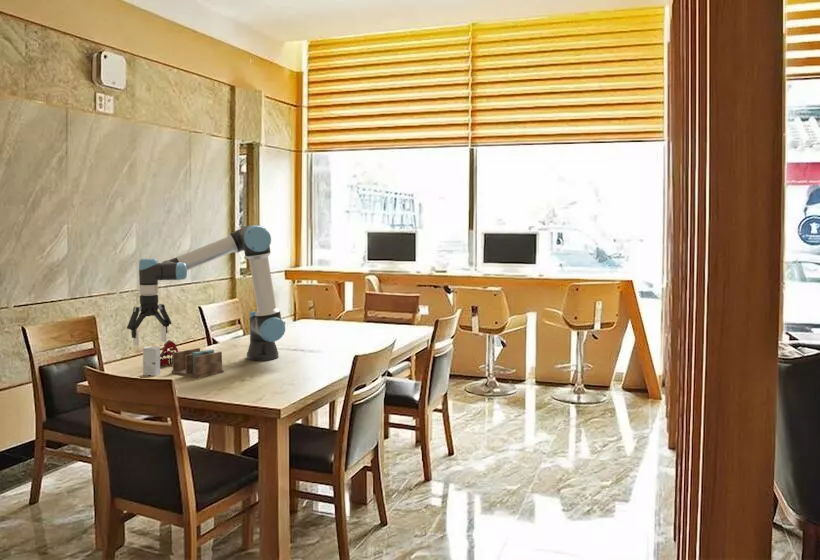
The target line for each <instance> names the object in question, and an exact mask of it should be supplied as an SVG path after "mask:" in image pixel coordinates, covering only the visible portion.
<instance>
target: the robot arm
mask: <svg viewBox="0 0 820 560" xmlns="http://www.w3.org/2000/svg"><path fill="white" fill-rule="evenodd" d="M270 233H271V232H270V231H269V230H268V228H265V227H264V226H261V225H259V224H257V225H256V224H254V225H252V224H248V225H245V226H243V227H241V228H238V229H237V230H235V231H233V232H230V233H227V236H226V237H224V238H221V239H219V240H216V241H214V242H211V243H208V244H205V245H204V246H200V247H197V248H196V249H193V250H191V251H188V252H186V253H183V254H180V255H178V256H176V257H174V258H171V259H169V260H164V261H162V262H158V259H157V258H141V259H140V260H139V262H138V279H139V280H138V281H139V294H140V295H139V304H140V305H139V306H133V309H132V314H131V317H130V318H129V321H128V324H127V326H126V328H127V330H130V331H131V338H132V339H133V340H132V341H133V346H137V347H139V345H140V344H139V341H140V340H139V330H138V328H139V326H140V325H141V324H142V322H143V321H144V319H146V318H147V317H151V316H152V317H155V318H156V319H157V320H158V322H159V323H160V325H161V326H160V341H161V342H167V334H168V327H169V326H170V325H172V321H171V318H170V316H169V314H168V312H167V310H166V307H165V304H164V303H163V304H162V303H160V304H159V295H158V294H159V281H180V280H181V281H182V280H186V279H187V275H188V271H189V270H192V269H194V268H197V267H199V266H201V265H205V264H207V263H209V262H211V261H215V260H217V259H220V258H222V257H224V256H227V255H229V254H232V253H235V254H238V253H240V252H244V257H245V258H246V259H248V262H249V266H250V267H249V269H250V272H251V274H250V275H251V279H252V286H253V291H254V297H255V298H254V299H255V303H256V310H257V311H255V310H253V311H250V312H249V317H248V321H249V345H248V348H247V349H248V350H247V352H246V359H247V360H250V361H270V360H275V359H278V358H279V356H280V355H279V351H278V348H277V344H276V342H277V341H280V339H281V338H282V337H283V336H284V335H285V333H286V325H285V322H284V321H283V320H282V314H281V310H280V309H279V308H277V304H276V299H275V292H274V287H273V286H274V285H273V280H272V275H271V274H272V273H271V268H270V261H269V256H270V255H271V247H270V245H271V244H272V236H271V234H270ZM158 310H159V311H158Z"/></svg>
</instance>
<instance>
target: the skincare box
mask: <svg viewBox="0 0 820 560" xmlns="http://www.w3.org/2000/svg"><path fill="white" fill-rule="evenodd" d="M160 354H161V347H160V346H150V345H148V346H144V347H143V348H142V374H143V376H148V375H151V377H156V376H159V375H161V366H160V359H161V357H160ZM158 374H159V375H158Z"/></svg>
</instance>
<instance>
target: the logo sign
mask: <svg viewBox="0 0 820 560" xmlns="http://www.w3.org/2000/svg"><path fill="white" fill-rule="evenodd" d="M175 352H179V349H178V347H177V344H176V343H175V342H174V341H172V340H169V339H168V340H166V341H165V343H164V344H163V347H162V349H161V352H160V365H161V366H162V365H163V366H171V365H170V364H172V365H173V362H172V353H175ZM168 356H169V357H168Z"/></svg>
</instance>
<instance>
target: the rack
mask: <svg viewBox="0 0 820 560" xmlns="http://www.w3.org/2000/svg"><path fill="white" fill-rule="evenodd" d="M174 352H175V353H172V355H171V359H172V362H173V364H172V370H171V372H172V374H174V373H176V375H179V374H180V375H181V376H184V375H186V376H185V377H189V376H190V378H194V377H195V378H194V379H200V378H199V377H201V378H204V376H205V377H210V376H214V375H218V374H222V372H223V373H224V372H225V370H224V369H223V356H222V355H223V354H222V353H223V352H222V351H217V352H215V350H214V349H205V350H201V348H199V347H197V348H196V347H195V348H191V349H186V350H181V351H178V352H176V351H174ZM209 375H210V376H209Z"/></svg>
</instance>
